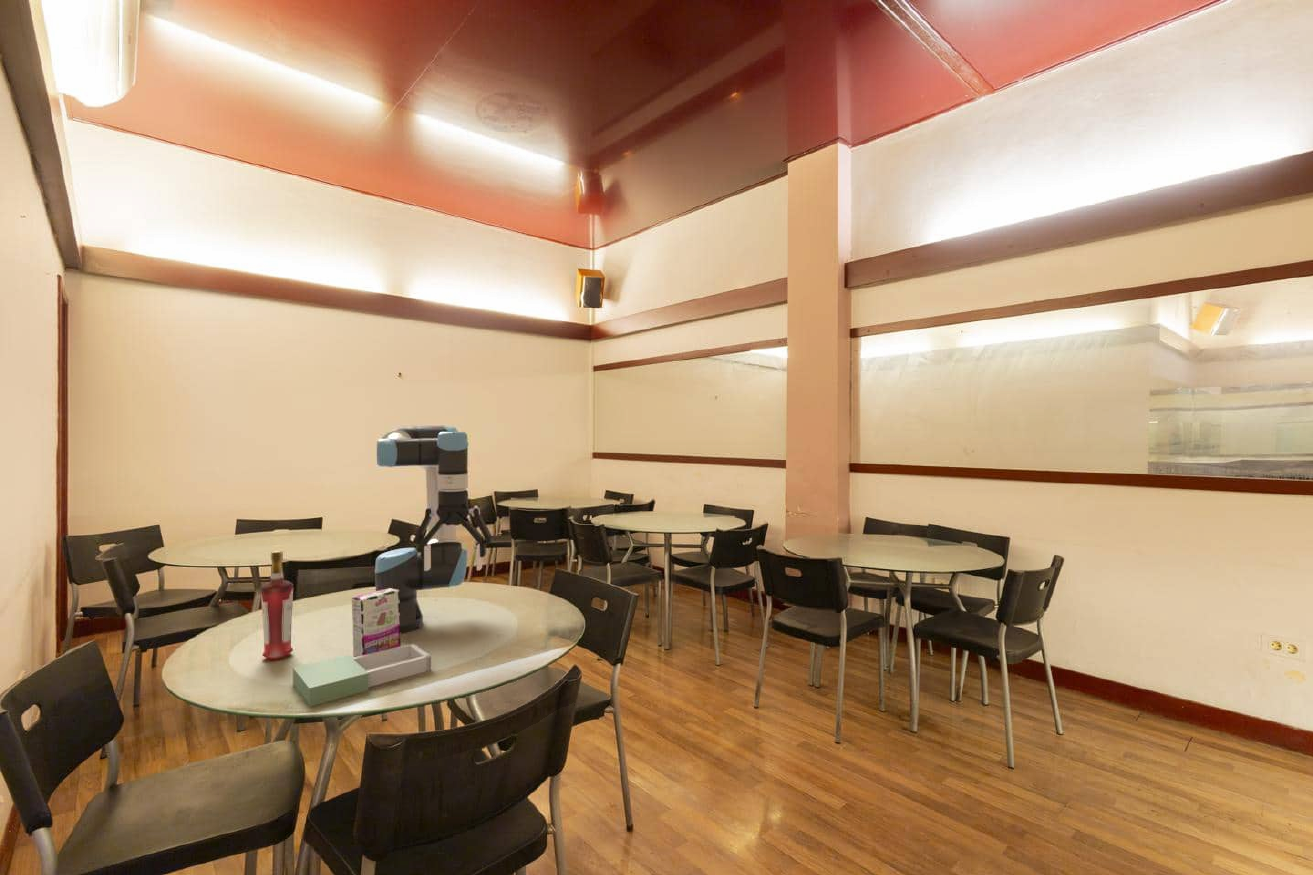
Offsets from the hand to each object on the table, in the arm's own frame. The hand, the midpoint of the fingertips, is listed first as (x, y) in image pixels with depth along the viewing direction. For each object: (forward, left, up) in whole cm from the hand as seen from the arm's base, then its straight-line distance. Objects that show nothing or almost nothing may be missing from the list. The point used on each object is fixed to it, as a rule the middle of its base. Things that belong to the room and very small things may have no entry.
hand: (453, 569), depth 157 cm
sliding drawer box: (-1, -22, -23) cm, 32 cm away
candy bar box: (-16, -15, -23) cm, 32 cm away
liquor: (-32, -35, -23) cm, 52 cm away
